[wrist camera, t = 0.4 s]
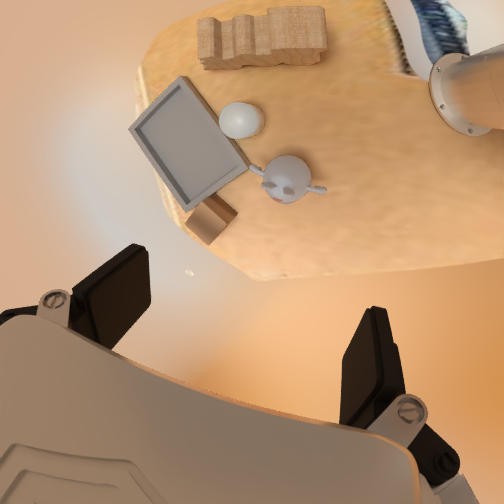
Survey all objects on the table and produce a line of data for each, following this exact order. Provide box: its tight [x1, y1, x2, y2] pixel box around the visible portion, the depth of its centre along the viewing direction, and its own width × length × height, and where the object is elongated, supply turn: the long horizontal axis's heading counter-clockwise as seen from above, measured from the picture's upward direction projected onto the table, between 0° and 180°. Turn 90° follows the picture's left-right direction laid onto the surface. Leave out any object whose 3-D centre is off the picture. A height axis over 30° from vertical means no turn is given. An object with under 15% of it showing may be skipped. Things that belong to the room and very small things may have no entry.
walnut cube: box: [185, 193, 238, 246], centre depth 43 cm, size 5×5×5 cm
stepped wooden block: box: [197, 6, 328, 70], centre depth 27 cm, size 6×17×10 cm, turn 93°
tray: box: [128, 76, 251, 213], centre depth 40 cm, size 13×18×2 cm
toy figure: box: [249, 155, 327, 204], centre depth 34 cm, size 11×6×12 cm, turn 76°
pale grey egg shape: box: [219, 102, 265, 139], centre depth 35 cm, size 5×5×5 cm
